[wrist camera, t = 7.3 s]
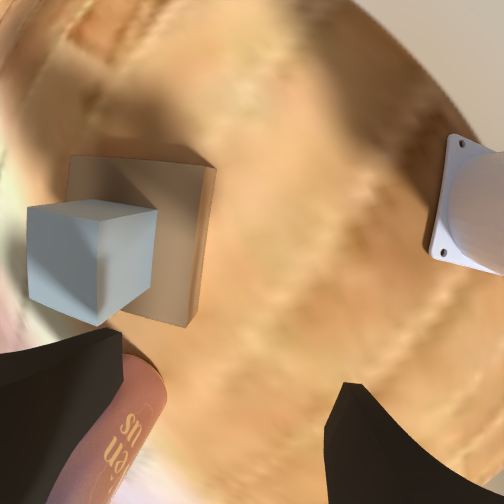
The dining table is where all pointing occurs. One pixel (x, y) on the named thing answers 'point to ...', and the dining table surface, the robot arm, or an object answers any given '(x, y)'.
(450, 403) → the dining table surface
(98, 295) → the pale grey-blue block
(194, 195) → the tan block
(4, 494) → the robot arm
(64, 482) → the beverage can
